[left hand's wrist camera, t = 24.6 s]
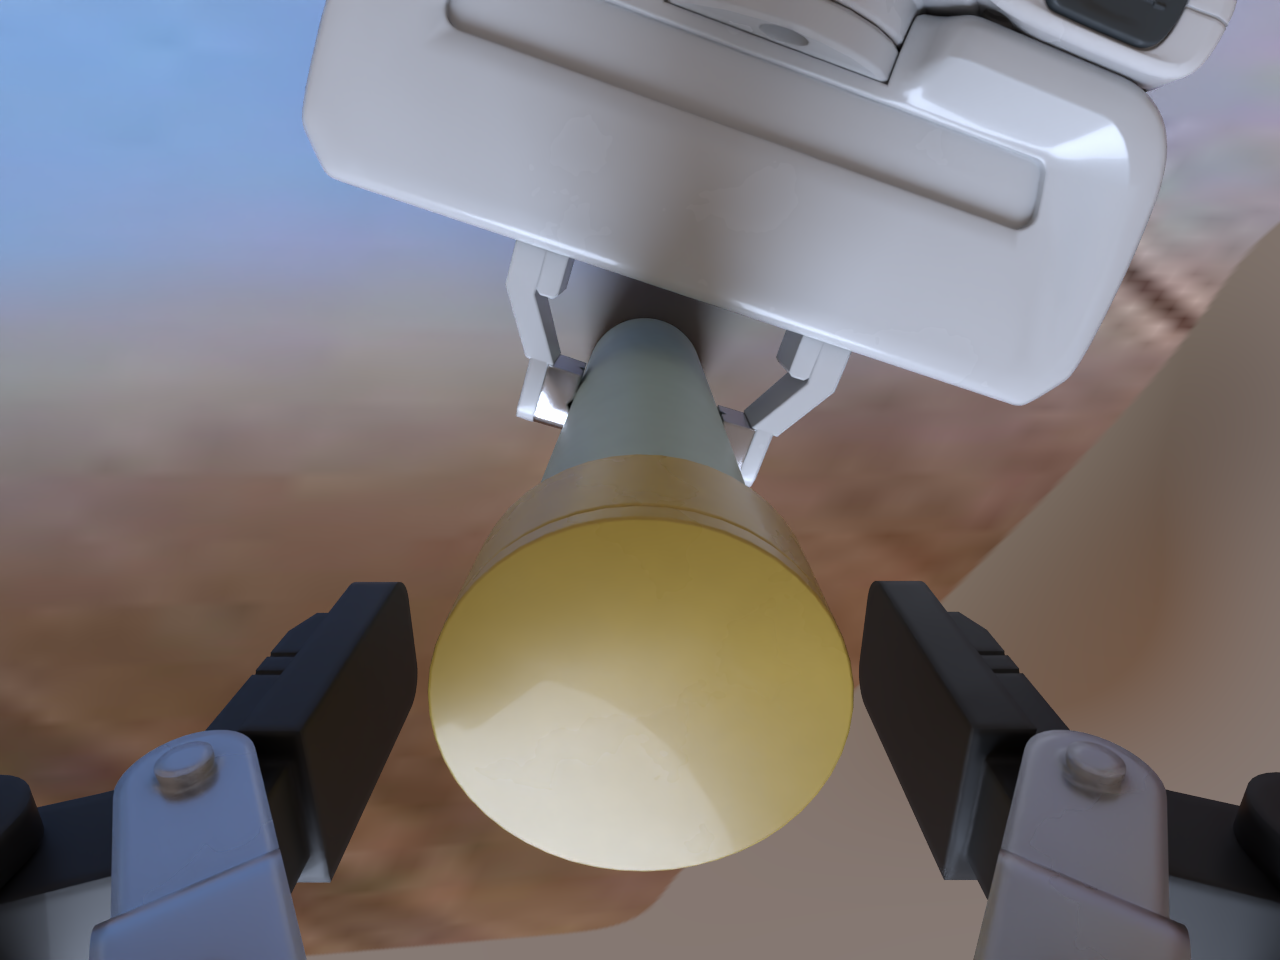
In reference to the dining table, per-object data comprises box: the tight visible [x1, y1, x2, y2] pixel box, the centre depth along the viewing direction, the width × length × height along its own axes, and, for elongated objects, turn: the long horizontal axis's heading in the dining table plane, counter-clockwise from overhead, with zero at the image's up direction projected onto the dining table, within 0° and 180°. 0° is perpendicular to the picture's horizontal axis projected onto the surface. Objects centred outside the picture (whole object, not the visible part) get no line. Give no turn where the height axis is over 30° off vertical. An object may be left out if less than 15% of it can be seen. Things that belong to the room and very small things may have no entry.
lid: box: [428, 454, 854, 871], centre depth 10 cm, size 5×5×2 cm
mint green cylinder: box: [541, 318, 745, 485], centre depth 18 cm, size 4×4×18 cm
